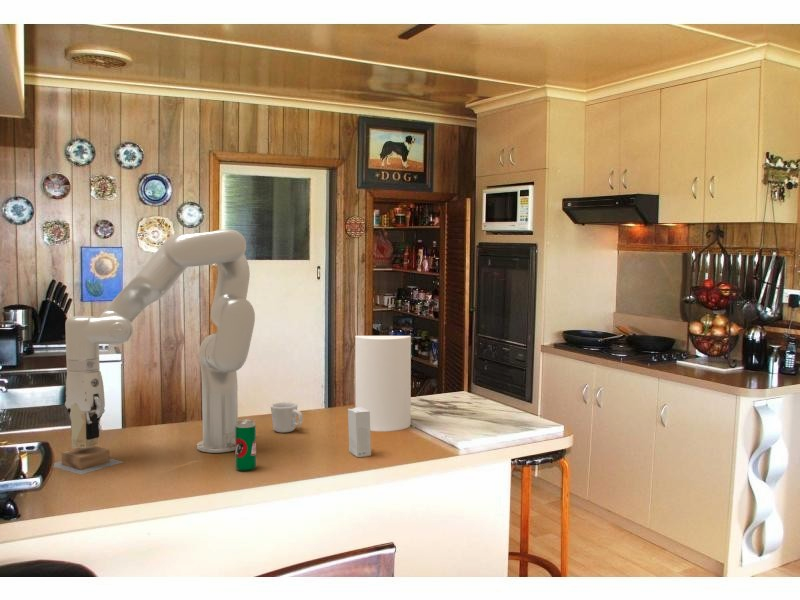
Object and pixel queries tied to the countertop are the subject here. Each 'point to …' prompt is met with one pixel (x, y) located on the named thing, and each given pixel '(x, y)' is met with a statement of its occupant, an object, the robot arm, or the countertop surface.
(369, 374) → the cylinder
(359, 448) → the skincare box
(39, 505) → the countertop surface
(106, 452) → the walnut plinth
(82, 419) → the box
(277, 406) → the cup
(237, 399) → the robot arm
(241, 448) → the soda can
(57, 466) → the slate mat
